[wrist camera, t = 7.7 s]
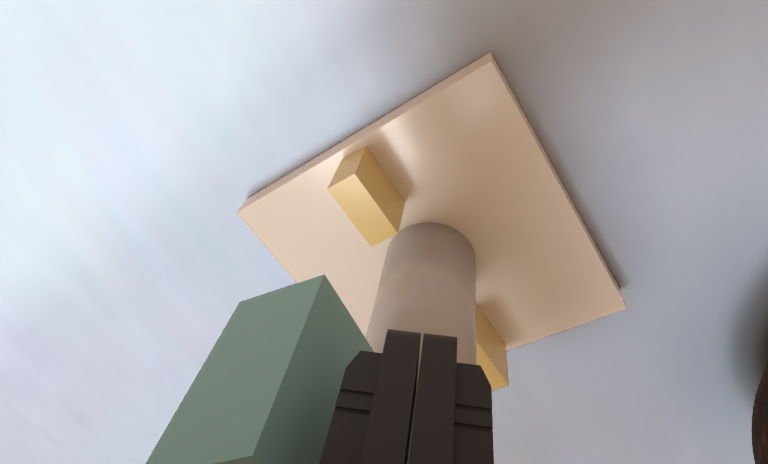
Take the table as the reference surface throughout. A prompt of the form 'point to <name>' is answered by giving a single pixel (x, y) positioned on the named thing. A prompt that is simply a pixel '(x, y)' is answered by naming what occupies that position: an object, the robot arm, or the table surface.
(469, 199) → the post base
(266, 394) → the pale green block
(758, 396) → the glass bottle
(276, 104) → the table surface
